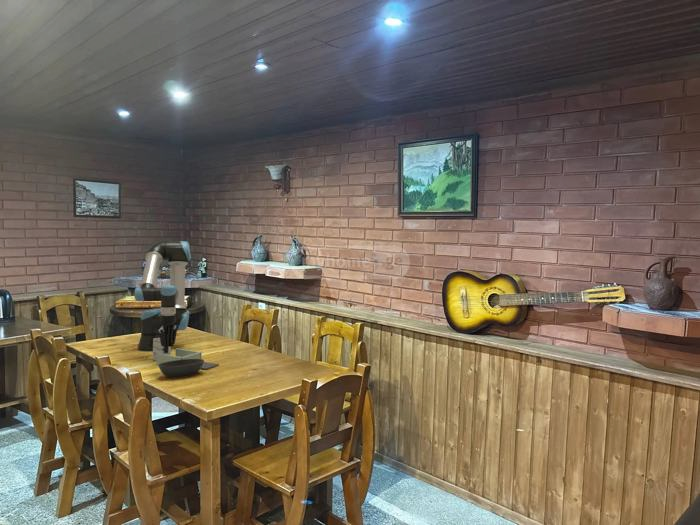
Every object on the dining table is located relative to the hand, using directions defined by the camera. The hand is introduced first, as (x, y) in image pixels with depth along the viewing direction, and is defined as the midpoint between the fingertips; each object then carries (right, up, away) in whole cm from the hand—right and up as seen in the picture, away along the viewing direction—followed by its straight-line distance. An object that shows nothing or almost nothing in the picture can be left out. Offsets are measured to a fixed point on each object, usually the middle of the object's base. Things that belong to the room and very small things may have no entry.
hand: (167, 358), depth 266 cm
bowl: (+15, -4, -23) cm, 28 cm away
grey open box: (+7, -2, -3) cm, 8 cm away
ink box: (-5, -2, +3) cm, 6 cm away
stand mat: (+22, -3, -6) cm, 23 cm away
